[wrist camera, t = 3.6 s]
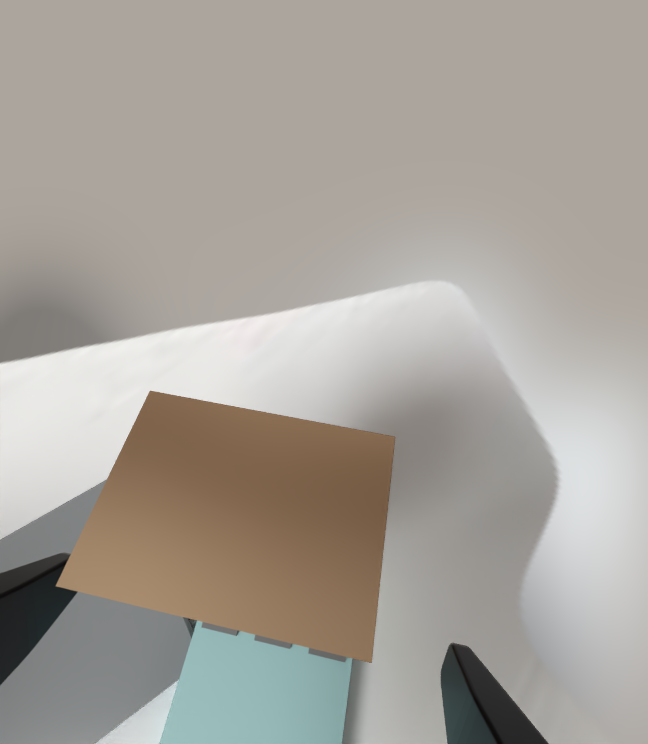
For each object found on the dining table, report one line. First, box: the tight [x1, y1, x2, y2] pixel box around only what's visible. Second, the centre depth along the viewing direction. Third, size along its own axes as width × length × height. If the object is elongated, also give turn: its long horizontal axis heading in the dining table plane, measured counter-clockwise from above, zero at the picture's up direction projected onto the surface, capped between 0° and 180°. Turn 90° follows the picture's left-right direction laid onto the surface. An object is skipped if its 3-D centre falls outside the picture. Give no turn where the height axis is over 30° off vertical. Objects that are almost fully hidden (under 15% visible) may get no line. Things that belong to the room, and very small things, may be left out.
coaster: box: [0, 480, 193, 744], centre depth 17 cm, size 10×10×1 cm
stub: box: [56, 391, 395, 663], centre depth 12 cm, size 4×5×14 cm
